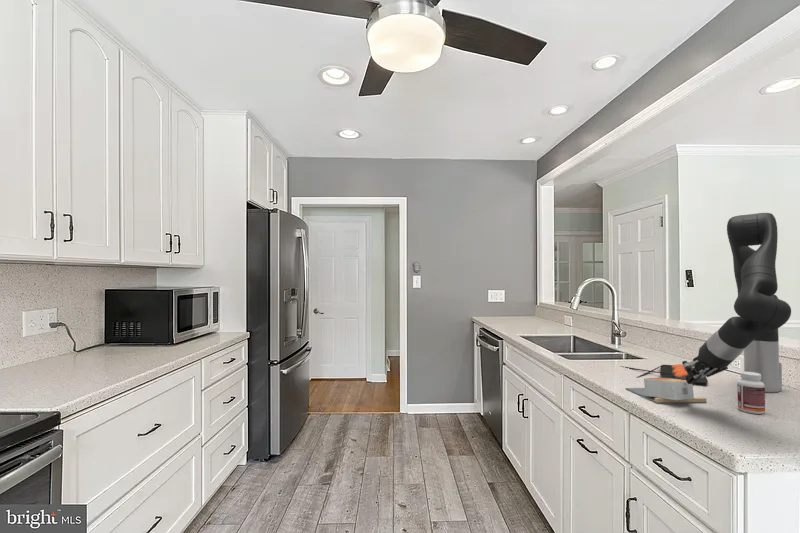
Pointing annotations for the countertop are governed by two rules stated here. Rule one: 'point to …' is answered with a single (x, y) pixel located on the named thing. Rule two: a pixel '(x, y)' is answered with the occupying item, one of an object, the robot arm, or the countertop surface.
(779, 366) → the robot arm
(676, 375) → the sushi plate
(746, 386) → the pill bottle
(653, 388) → the small box
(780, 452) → the countertop surface
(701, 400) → the board
